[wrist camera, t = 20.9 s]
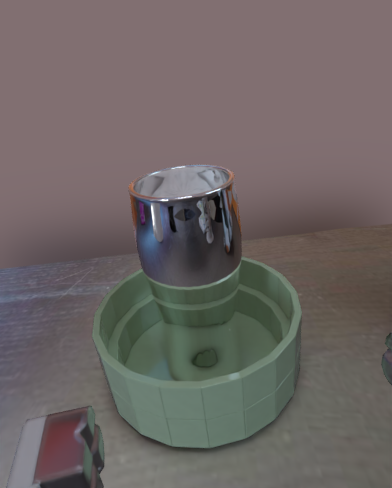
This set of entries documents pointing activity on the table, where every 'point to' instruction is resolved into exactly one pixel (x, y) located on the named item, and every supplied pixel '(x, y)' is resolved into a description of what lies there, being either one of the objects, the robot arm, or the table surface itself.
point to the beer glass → (192, 264)
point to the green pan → (211, 390)
